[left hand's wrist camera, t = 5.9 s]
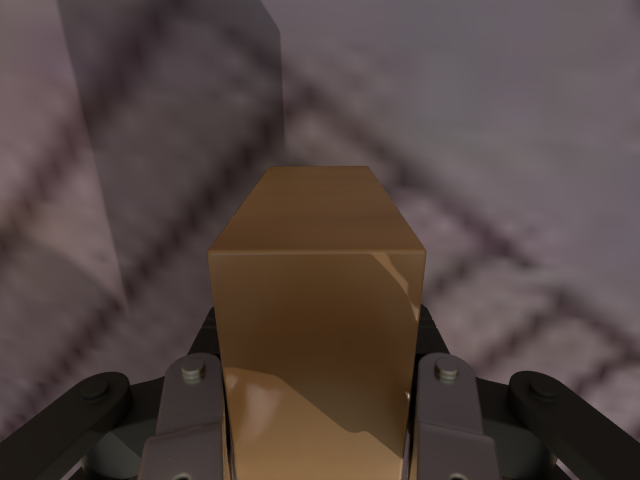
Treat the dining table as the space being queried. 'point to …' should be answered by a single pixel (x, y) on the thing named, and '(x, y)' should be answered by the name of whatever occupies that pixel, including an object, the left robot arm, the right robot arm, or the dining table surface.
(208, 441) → the left robot arm
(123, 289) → the dining table surface
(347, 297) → the wooden beam
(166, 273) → the dining table surface
